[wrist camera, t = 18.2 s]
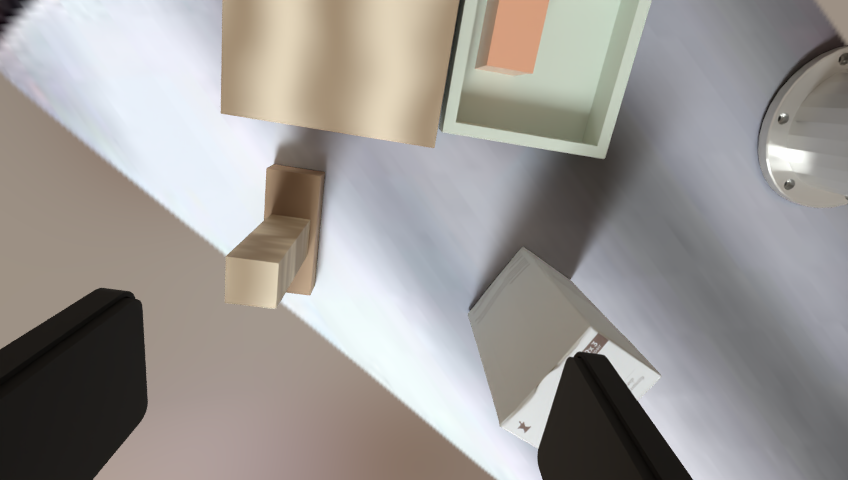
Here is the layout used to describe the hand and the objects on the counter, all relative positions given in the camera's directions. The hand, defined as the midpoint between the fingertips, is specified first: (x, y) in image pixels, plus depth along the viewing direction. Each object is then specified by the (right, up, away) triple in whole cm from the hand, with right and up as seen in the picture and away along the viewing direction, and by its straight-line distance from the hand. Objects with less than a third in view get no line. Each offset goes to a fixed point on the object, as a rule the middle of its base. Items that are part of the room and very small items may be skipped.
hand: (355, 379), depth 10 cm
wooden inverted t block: (-9, +4, +26) cm, 28 cm away
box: (+10, +17, +23) cm, 30 cm away
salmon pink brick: (+6, +17, +19) cm, 26 cm away
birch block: (-4, +19, +21) cm, 29 cm away
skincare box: (+10, -2, +29) cm, 31 cm away
